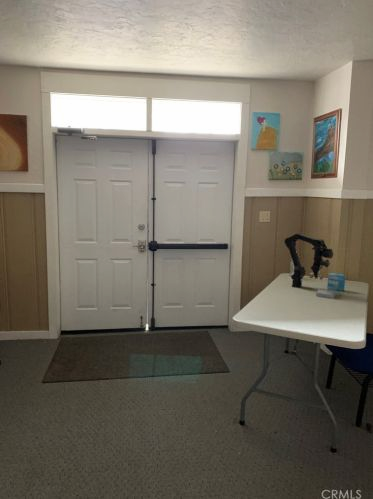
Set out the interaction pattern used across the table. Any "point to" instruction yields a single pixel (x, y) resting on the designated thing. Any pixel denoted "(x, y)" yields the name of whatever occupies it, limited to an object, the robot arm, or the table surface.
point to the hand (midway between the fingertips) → (316, 276)
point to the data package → (336, 282)
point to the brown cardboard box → (317, 275)
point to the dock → (326, 294)
